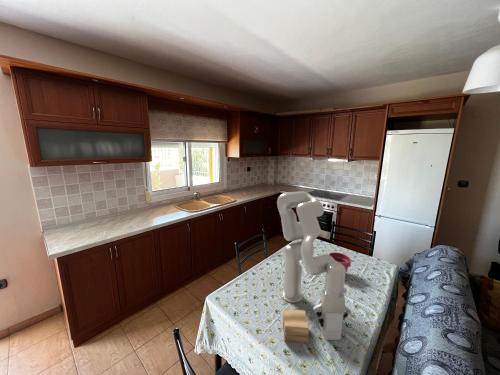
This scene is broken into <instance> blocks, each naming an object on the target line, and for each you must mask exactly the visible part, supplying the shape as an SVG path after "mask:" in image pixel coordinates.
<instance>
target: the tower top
mask: <svg viewBox="0 0 500 375" xmlns="http://www.w3.org/2000/svg"><path fill="white" fill-rule="evenodd" d="M306 314H307V313H306V310H304V309H294V308H292V309H291V308H283V314H282V315H283V316H282V320H283V319H284V330H285V334H290V335H301V336H308V337H309V331H310V327H309V322H308V318H307V315H306Z"/></svg>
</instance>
